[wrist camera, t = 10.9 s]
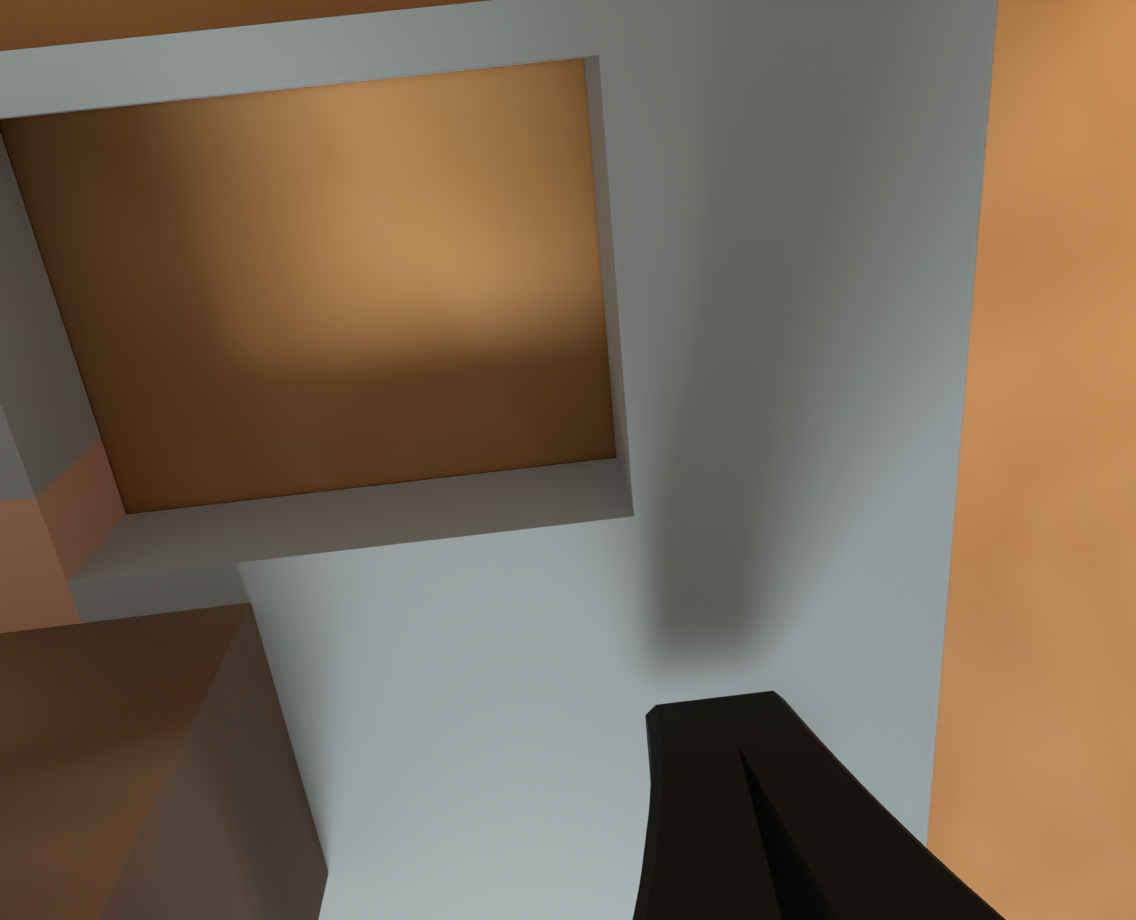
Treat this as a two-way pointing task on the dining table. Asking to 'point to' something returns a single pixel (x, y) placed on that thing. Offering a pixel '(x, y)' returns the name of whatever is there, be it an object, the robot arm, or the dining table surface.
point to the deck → (591, 488)
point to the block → (151, 775)
